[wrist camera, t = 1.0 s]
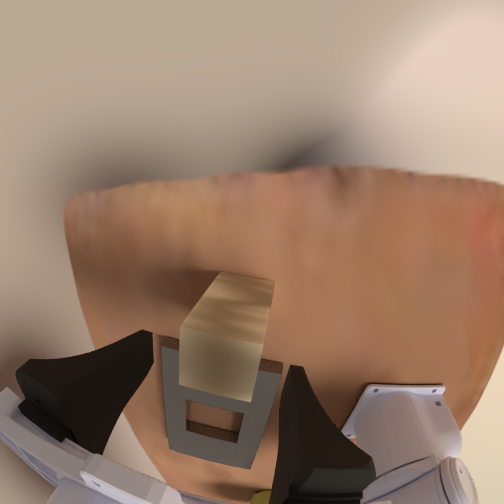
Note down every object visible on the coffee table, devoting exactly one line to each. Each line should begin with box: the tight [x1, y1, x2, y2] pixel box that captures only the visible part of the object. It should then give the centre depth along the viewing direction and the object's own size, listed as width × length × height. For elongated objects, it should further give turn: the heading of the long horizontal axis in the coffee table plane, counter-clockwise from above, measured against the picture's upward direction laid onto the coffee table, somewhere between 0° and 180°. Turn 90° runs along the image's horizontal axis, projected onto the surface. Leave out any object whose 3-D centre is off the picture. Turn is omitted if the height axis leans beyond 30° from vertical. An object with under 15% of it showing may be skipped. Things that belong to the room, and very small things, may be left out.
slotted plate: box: [161, 337, 283, 469], centre depth 23 cm, size 10×17×2 cm, turn 171°
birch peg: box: [179, 271, 275, 402], centre depth 17 cm, size 4×4×8 cm
